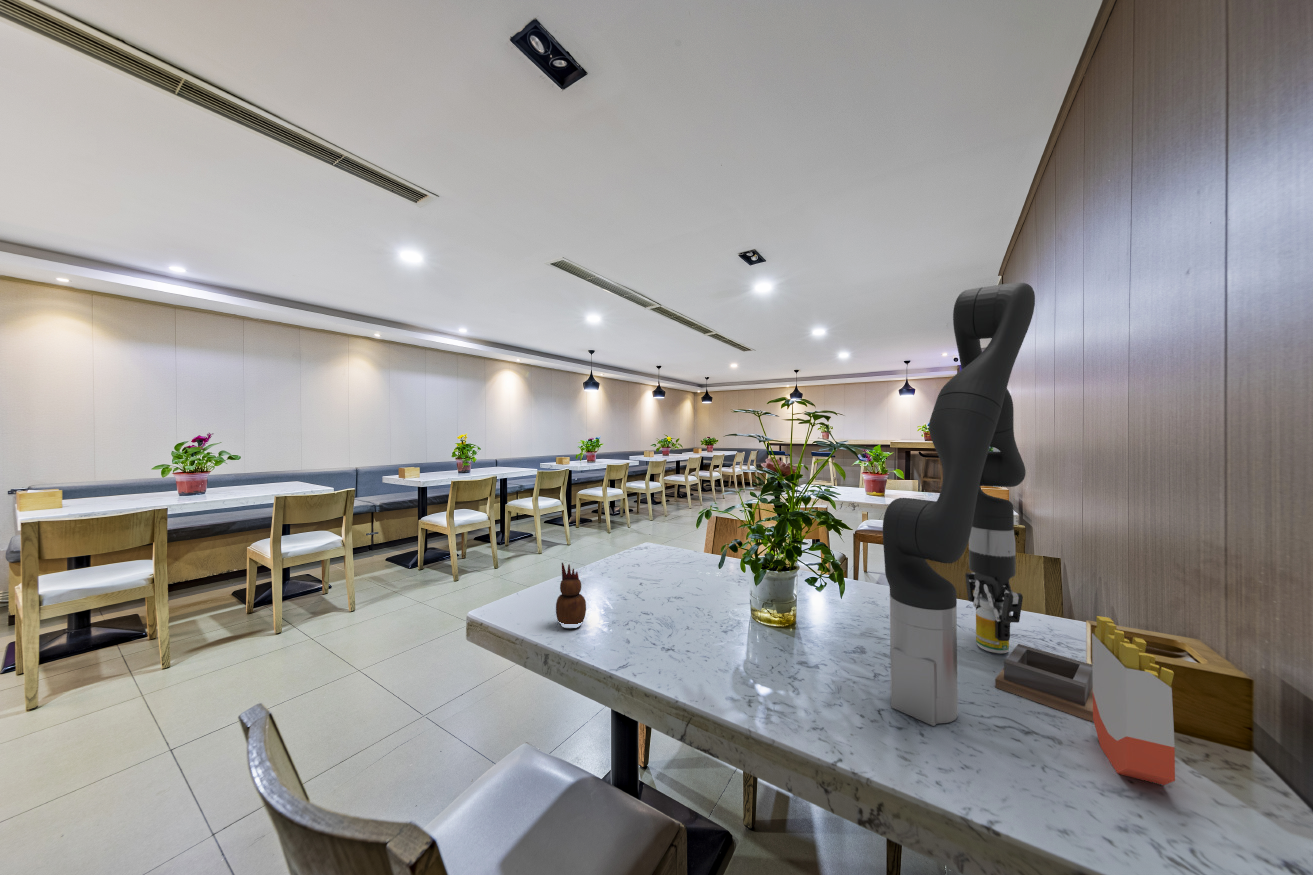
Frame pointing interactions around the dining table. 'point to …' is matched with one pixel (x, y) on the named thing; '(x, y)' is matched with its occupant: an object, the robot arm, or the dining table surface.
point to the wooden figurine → (570, 599)
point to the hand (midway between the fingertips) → (992, 632)
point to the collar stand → (1049, 680)
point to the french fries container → (1132, 706)
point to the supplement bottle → (988, 629)
